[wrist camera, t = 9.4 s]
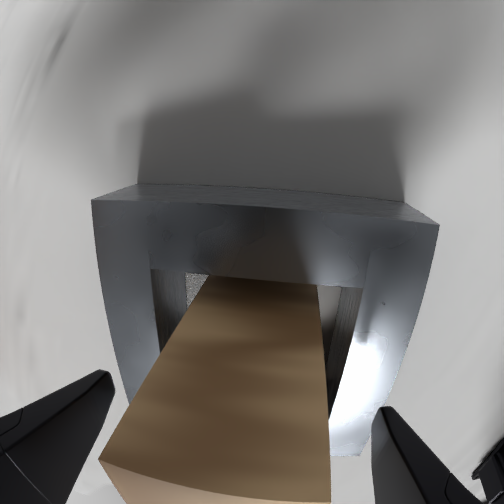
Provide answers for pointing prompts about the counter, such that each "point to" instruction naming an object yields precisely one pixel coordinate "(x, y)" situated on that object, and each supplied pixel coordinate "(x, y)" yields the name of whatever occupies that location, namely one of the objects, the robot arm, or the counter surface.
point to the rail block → (269, 276)
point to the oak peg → (231, 404)
